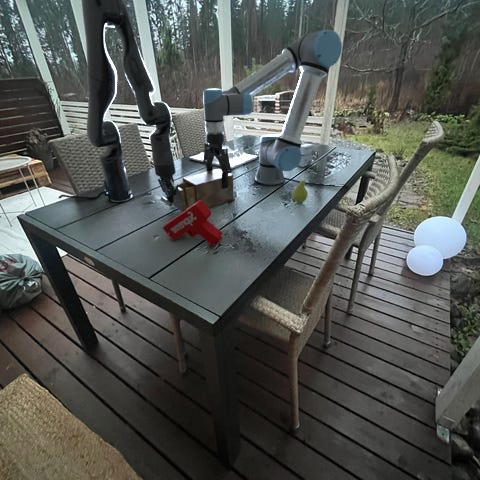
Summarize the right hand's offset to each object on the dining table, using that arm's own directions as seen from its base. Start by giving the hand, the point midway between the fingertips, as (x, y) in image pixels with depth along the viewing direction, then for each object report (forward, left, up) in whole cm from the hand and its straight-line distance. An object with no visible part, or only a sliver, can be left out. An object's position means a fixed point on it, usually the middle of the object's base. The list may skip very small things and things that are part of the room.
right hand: (217, 184), depth 122 cm
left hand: (+13, +19, -3) cm, 23 cm away
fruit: (-36, -7, -7) cm, 38 cm away
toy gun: (-5, +36, -7) cm, 37 cm away
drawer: (+8, +12, -6) cm, 16 cm away
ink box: (-31, -62, -7) cm, 70 cm away
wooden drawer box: (+2, +4, -7) cm, 8 cm away
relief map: (+21, -60, -7) cm, 64 cm away
